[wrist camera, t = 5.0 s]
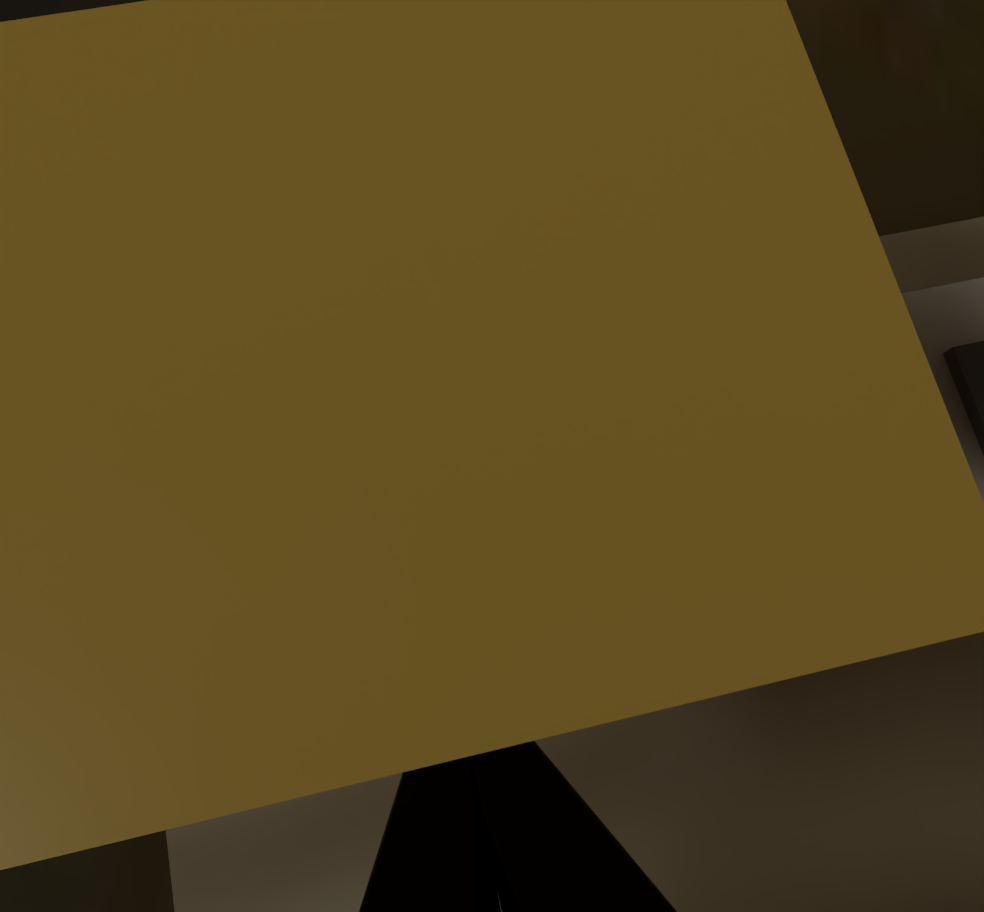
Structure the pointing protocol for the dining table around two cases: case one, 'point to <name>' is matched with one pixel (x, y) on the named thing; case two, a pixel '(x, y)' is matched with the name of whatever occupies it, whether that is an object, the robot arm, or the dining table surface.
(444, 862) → the robot arm
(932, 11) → the dining table surface
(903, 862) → the key board
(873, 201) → the dining table surface
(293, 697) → the large amber box
